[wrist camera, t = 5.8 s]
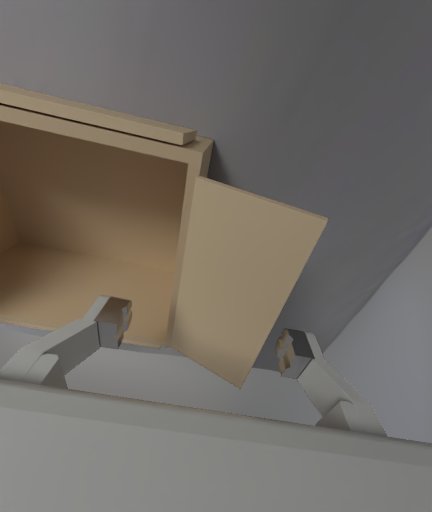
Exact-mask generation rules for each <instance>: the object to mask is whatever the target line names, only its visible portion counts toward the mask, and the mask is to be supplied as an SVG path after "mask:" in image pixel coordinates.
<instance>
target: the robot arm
mask: <svg viewBox="0 0 432 512" xmlns="http://www.w3.org/2000/svg"><path fill="white" fill-rule="evenodd" d="M131 307H132V301H131V300H127V299H122V298H117V297H111V296H107V295H100V296H99V297H98V298H97V299H96V301H95V302H94V303H93V305H92V306H91V307H90V309H89V310H88V311H87V313H86V314H85V315H84V317H83V318H82V319H77V320H75V321H73V322H71V323H69V324H67V325H65V326H63V327H61V328H59V329H57V330H55V331H53V332H51V333H49V334H47V335H45V336H43V337H41V338H39V339H37V340H36V341H34V342H32V343H30V344H28V345H26V346H24V347H22V348H20V349H19V350H18V352H17V353H16V354H15V355H14V356H13V357H12V358H11V359H10V360H9V361H8V362H7V363H6V364H5V366H4V367H3V368H2V369H1V370H0V512H432V443H426V442H420V441H413V440H406V439H400V438H393V437H388V436H387V434H386V433H385V431H384V429H383V427H382V425H381V423H380V421H379V419H378V417H377V415H376V413H375V411H374V409H373V407H372V405H371V404H370V403H369V402H368V401H367V400H366V399H365V398H364V397H363V396H362V395H361V394H360V393H359V392H358V391H357V390H356V389H355V388H354V387H353V386H352V385H351V384H350V383H349V382H348V381H347V380H346V379H345V378H344V377H343V376H342V375H341V374H340V373H339V372H338V371H337V370H336V369H335V368H334V367H333V366H332V365H331V364H330V363H329V362H327V361H325V359H324V356H323V354H322V352H321V349H320V347H319V345H318V342H317V340H316V338H315V335H314V334H313V333H310V332H304V331H299V330H293V329H287V328H285V329H283V331H282V336H281V337H279V338H278V340H277V342H276V354H277V357H278V358H279V359H280V362H279V368H280V373H281V376H283V377H288V378H293V379H297V381H298V382H299V384H300V385H301V387H302V388H303V390H304V391H305V393H306V394H307V396H308V397H309V398H310V400H311V401H312V403H313V404H314V406H315V407H316V409H317V410H318V412H319V413H320V414H321V416H322V417H323V418H322V419H321V420H319V421H318V422H317V423H316V425H315V426H312V425H305V424H299V423H292V422H285V421H279V420H272V419H265V418H259V417H252V416H245V415H239V414H232V413H225V412H218V411H212V410H205V409H198V408H192V407H185V406H178V405H172V404H165V403H157V402H151V401H144V400H138V399H131V398H124V397H118V396H111V395H104V394H98V393H91V392H84V391H78V390H70V389H68V387H67V384H66V381H65V377H64V375H66V374H67V373H68V372H69V371H71V370H72V369H73V368H75V367H76V366H77V365H79V364H80V363H81V362H82V361H84V360H85V359H86V358H87V357H89V356H90V355H91V354H92V353H94V352H95V351H96V350H98V349H99V348H100V347H105V348H113V349H118V348H119V346H120V344H121V342H122V340H123V338H124V332H125V331H127V330H128V328H129V326H130V323H131V319H132V311H131V310H130V309H131Z"/></svg>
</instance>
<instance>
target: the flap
mask: <svg viewBox="0 0 432 512" xmlns="http://www.w3.org/2000/svg"><path fill="white" fill-rule="evenodd" d="M327 222H328V218H327V217H324V216H321V215H317V214H314V213H311V212H308V211H305V210H302V209H299V208H296V207H293V206H290V205H287V204H284V203H281V202H278V201H275V200H272V199H269V198H266V197H263V196H260V195H257V194H254V193H251V192H248V191H245V190H242V189H239V188H236V187H233V186H230V185H226V184H223V183H220V182H217V181H214V180H211V179H208V178H205V177H202V176H199V177H196V179H195V186H194V192H193V199H192V206H191V212H190V219H189V226H188V232H187V239H186V246H185V252H184V259H183V266H182V273H181V279H180V286H179V293H178V299H177V306H176V313H175V319H174V326H173V333H172V339H171V346H170V347H172V348H173V349H175V350H177V351H178V352H180V353H182V354H183V355H185V356H187V357H188V358H190V359H192V360H193V361H195V362H196V363H198V364H200V365H201V366H203V367H205V368H207V369H208V370H210V371H211V372H213V373H215V374H216V375H218V376H219V377H221V378H223V379H224V380H226V381H228V382H229V383H231V384H233V385H234V386H236V387H238V388H239V389H241V387H242V385H243V383H244V381H245V379H246V377H247V375H248V373H249V372H250V369H251V368H252V366H253V364H254V362H255V360H256V358H257V356H258V354H259V352H260V350H261V349H262V347H263V345H264V343H265V341H266V339H267V337H268V335H269V333H270V331H271V329H272V327H273V326H274V324H275V322H276V320H277V318H278V316H279V314H280V312H281V310H282V308H283V306H284V304H285V303H286V301H287V299H288V297H289V295H290V293H291V291H292V289H293V287H294V285H295V283H296V281H297V280H298V278H299V276H300V274H301V272H302V270H303V268H304V266H305V264H306V262H307V260H308V258H309V257H310V255H311V253H312V251H313V249H314V247H315V245H316V243H317V241H318V239H319V237H320V235H321V234H322V232H323V230H324V228H325V226H326V224H327Z"/></svg>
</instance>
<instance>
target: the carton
mask: <svg viewBox="0 0 432 512" xmlns="http://www.w3.org/2000/svg"><path fill="white" fill-rule="evenodd" d="M196 133H197V130H193V129H188V128H184V127H180V126H176V125H172V124H167V123H163V122H159V121H155V120H151V119H147V118H142V117H138V116H134V115H130V114H126V113H122V112H117V111H113V110H109V109H105V108H101V107H97V106H92V105H88V104H84V103H80V102H76V101H72V100H67V99H63V98H59V97H55V96H51V95H47V94H42V93H38V92H34V91H30V90H26V89H22V88H17V87H13V86H9V85H5V84H1V83H0V322H1V323H7V324H13V325H19V326H25V327H31V328H37V329H43V330H49V331H55V330H57V329H59V328H61V327H63V326H65V325H67V324H69V323H71V322H73V321H75V320H77V319H82V318H83V317H84V315H85V314H86V313H87V311H88V310H89V309H90V307H91V306H92V305H93V303H94V302H95V301H96V299H97V298H98V297H99V296H100V295H107V296H111V297H117V298H122V299H127V300H131V301H132V307H131V309H130V310H131V311H132V319H131V323H130V326H129V328H128V330H127V331H125V332H124V338H123V340H122V343H128V344H134V345H140V346H147V347H153V348H159V349H160V347H161V346H167V347H170V346H171V339H172V333H173V326H174V319H175V313H176V306H177V299H178V293H179V286H180V279H181V273H182V266H183V259H184V252H185V246H186V239H187V232H188V226H189V219H190V212H191V206H192V199H193V192H194V186H195V179H196V177H199V176H202V177H205V178H207V176H208V170H209V165H210V159H211V153H212V148H213V142H214V140H213V139H209V138H204V137H200V136H196Z"/></svg>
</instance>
